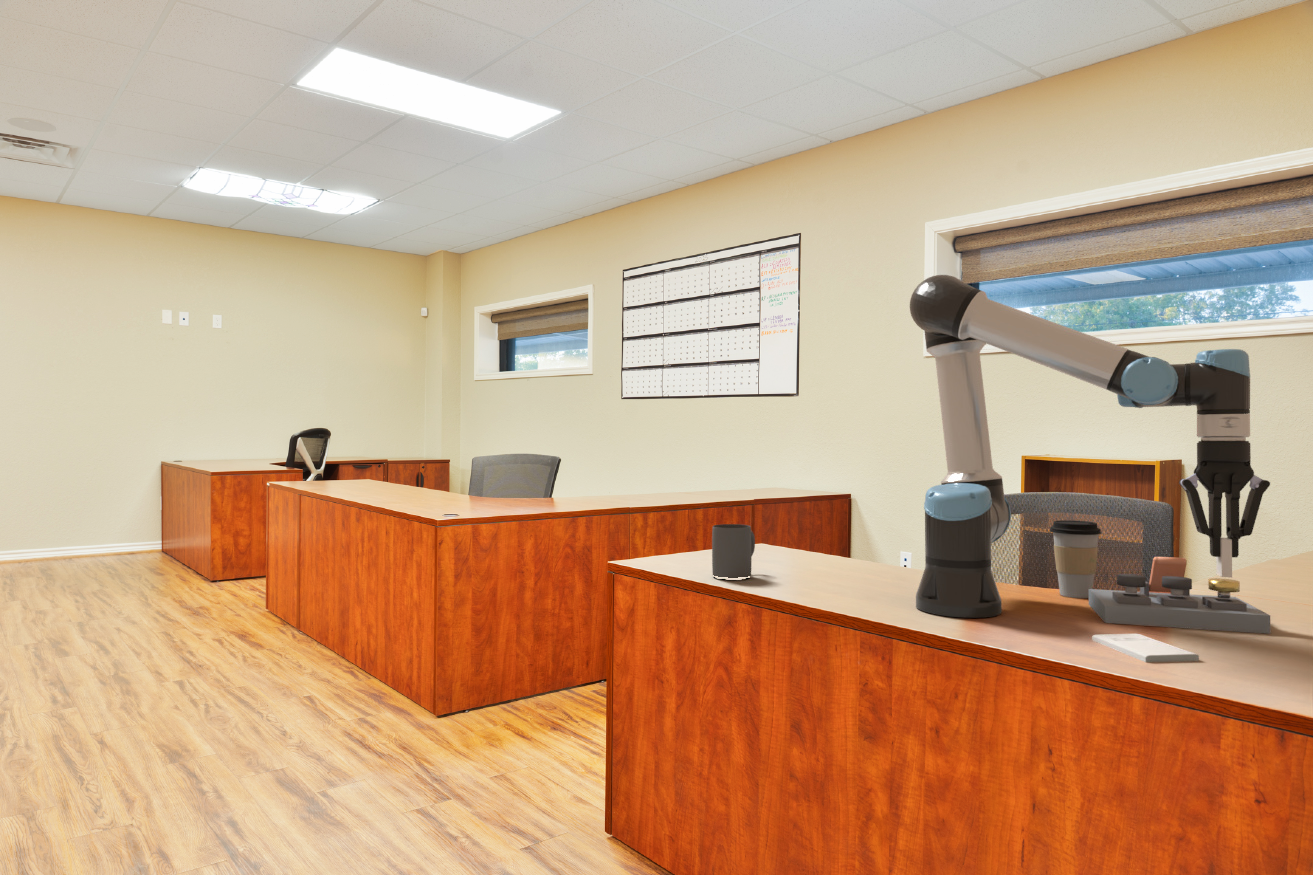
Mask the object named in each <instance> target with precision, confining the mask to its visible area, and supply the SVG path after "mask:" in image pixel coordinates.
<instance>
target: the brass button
mask: <svg viewBox="0 0 1313 875" xmlns="http://www.w3.org/2000/svg"><path fill="white" fill-rule="evenodd" d="M1207 582H1208V584H1207V586H1208V590H1210V591H1215V592H1217V596H1218V597H1219V598H1230V597H1231V593H1239V592H1240V591H1241V587H1240V581H1239V580H1236V579H1230V578H1221V577H1220V578H1217V577H1216V578H1214V577H1213V578H1208V580H1207Z"/></svg>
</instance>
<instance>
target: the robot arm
mask: <svg viewBox="0 0 1313 875" xmlns="http://www.w3.org/2000/svg"><path fill="white" fill-rule="evenodd" d="M909 312H910V316H911V318H912V319H913V322H914V323H915V325H916V326H918V328H920V329H921V330H923V331H924V332H923V333H924V339H925V340H924V341H925V348H926V352H927V353H928V354H930V355H931V356H932V357H933V358H934V360H935V366H936V375H937V376H936V378H937V384H938V387H937V388H938V394H939V396H938V397H939V402H940V412H941V420H942V430H943V440H944V448H945V451H944V452H945V457H946V468H947V473H946V475H945V476H944V477H943V479H942V480H941V481H940V484H937V485H933V486H931V487H930V488H929V489H927V490H926V492H925V499H924V500H925V501H924V503H923V506H924V507H923V509H924V534H925V535H924V538H925V539H924V541H925V542H924V543H925V544H924V547H925V548H924V551H925V555H924V556H925V557H924V559H925V560H924V561H925V566H924V571H923V573H922V576H921V579H920V583H919V585H918V587H917V591H916V595H915V608H916V609H917V610H920V611H921V612H925V613H928V614H933V615H938V616H943V617H944V616H945V617H952V618H972V619H974V618H978V619H979V618H990V617H996V616H998V615H1001V614H1002V611H1003V609H1002V604H1003V603H1002V602H1003V601H1002V598H1001V596H1000V592H999V590H998V587H997V584H996V580H995V577H994V574H993V573H992V543H995V542H997V541H998V540H999V539H1000V538H1001V537H1002V536H1003V535H1004V534H1005V533H1006V532H1007V530H1008V528H1009V526H1010V524H1011V518H1012V512H1011V506H1010V503H1009V502H1008V499H1007V498H1006V496H1005V491H1004V483H1003V476H1002V475H1000V474H999V472H996V470H995V469H994V468H993V458H992V451H991V441H990V432H989V424H988V415H987V406H986V396H985V387H984V380H983V372H982V370H983V369H982V362H981V354H980V353H981V350H982V349H983V348H984V347H985V345H987V344H988V345H989V346H992V347H994V348H998V349H1000V350H1002V351H1006V352H1008V353H1010V354H1012V355H1016V356H1018V357H1021V358H1023V359H1026V360H1028V361H1031V362H1034V363H1036V364H1040V365H1041V366H1044V367H1047V368H1050V369H1052V370H1055V371H1057V372H1059V373H1062V374H1065V375H1068V376H1071V377H1073V378H1076V379H1078V380H1081V381H1083V382H1086V383H1089V384H1092V385H1093V386H1097V387H1099V388H1102V389H1104V390H1106V391H1109V392H1111V393H1113V394H1116V396H1117V402H1118V404H1119V406H1121V407H1122V408H1138V409H1142V408H1151V407H1152V408H1156V407H1157V408H1159V407H1163V408H1164V407H1176V406H1177V407H1184V406H1185V407H1190V406H1196V437H1197V438H1200V440H1199V441H1197V443H1196V467H1195V468H1194V470H1193V474H1192V475H1189V476H1188V477H1186V478H1181V479H1179V482H1178V484H1179V485H1180V487H1181V488H1182V489H1183V490H1184V492H1185V493H1186V497H1187V500H1188V504H1189V507H1190V511H1191V514H1192V518H1193V520H1194V525H1195V529H1196V531H1197V532H1198V533H1200V534H1202V535H1205V536H1207V537H1209V554H1210V556H1212V557H1214V558H1215V557H1216V562H1215V563H1216V575H1217V576H1219V577H1220V578H1233V558H1238V557H1239V554H1240V553H1239V551H1240V550H1239V546H1240V545H1239V541H1240V539H1241V538H1242V537H1246V536H1251V535H1252V534H1253V530H1254V527H1255V523H1256V520H1257V516H1258V513H1259V509H1260V505H1261V502H1262V499H1263V495H1264V494H1265V492H1266V491H1267V490H1268V488H1269V487H1270V486H1271V482H1270V481H1269V480H1265V479H1262V478H1261V477H1259V476H1258V475H1256V474H1255V471H1254V469H1253V468H1252V465H1251V462H1252V461H1251V442H1250V441H1249V440H1246V438H1249V437H1251V410H1250V409H1251V370H1250V356H1249V353H1247V351H1245V350H1243V349H1239V348H1223V349H1220V348H1219V349H1212V350H1211V349H1210V350H1202V351H1199V352H1198V353H1197V354H1196V357H1195V360H1194V362H1190V363H1177V364H1176V363H1175V364H1174V363H1173V364H1171V363H1169V362H1168V361H1166V360H1164V359H1162V358H1158V357H1155V356H1148V355H1146V354H1144V353H1143V354H1142V353H1140V352H1138V351H1134V350H1130V349H1128V348H1127V347H1124V346H1120V345H1118V344H1116V343H1112V342H1109V341H1107V340H1104V339H1101V338H1099V337H1095V336H1092V335H1091V334H1087V333H1085V332H1082V331H1079V330H1077V329H1073V328H1070V327H1068V326H1065V325H1062V324H1059V323H1056V322H1053V321H1051V320H1048V319H1046V318H1045V319H1044V318H1042V317H1040V316H1036V315H1034V314H1031V313H1028V312H1025V311H1022V310H1020V309H1017V308H1014V307H1011V306H1009V305H1006V304H1003V303H1001V302H997V301H994V300H992V299H990V298H988V296H987V293H986V292H985V291H984V290H980V289H978V288H976V287H974V286H972V285H970V284H968V283H965V282H964V281H963V280H961V279H959V278H957V277H955V276H953V275H949V274H937V275H932V276H930V277H927V278H925V279H924V280H923V281H922V282H920V283H919V284H918V285H917V286H916V287H915V288H914V290H913V292H912V294H911V297H910V301H909ZM1198 482H1199V483H1200V484H1201V485H1202V487H1203V488H1204V490H1206V491H1207V498H1208V521H1207V519H1206V515H1205V511H1204V508H1203V505H1202V501H1201V498H1200V494H1199V491H1198V489H1197V488H1198V486H1199V483H1198ZM1248 483H1249V485H1248ZM1246 485H1248V486H1249V488H1250V490H1249V492H1248V496H1247V499H1246V502H1245V506H1244V509H1243V511H1242V512H1243V513H1242V517H1241V519H1240V499H1241V491H1242V490H1243V489H1244V488H1245V487H1246ZM1223 493H1224V497H1225V522H1226V523H1225V525H1226V526H1225V529H1226V530H1225V534H1226V537H1222V532H1223V531H1222V500H1223Z"/></svg>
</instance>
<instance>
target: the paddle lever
mask: <svg viewBox="0 0 1313 875" xmlns="http://www.w3.org/2000/svg"><path fill="white" fill-rule="evenodd" d="M1151 563H1152V565H1151V570H1150V576H1149V582H1148V583H1149V592H1154V593H1171V589H1169V588H1164V587H1162V577H1163V576H1177V577H1185V573H1186V568H1187V559H1186V558H1185V557H1172V556H1171V557H1170V556H1154V557H1153V559H1152V562H1151Z"/></svg>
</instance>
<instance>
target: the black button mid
mask: <svg viewBox="0 0 1313 875" xmlns="http://www.w3.org/2000/svg"><path fill="white" fill-rule="evenodd" d="M1162 587H1164V588H1169V589H1171V595H1175V596H1183V590H1192V589H1193V579H1192V578H1190V577H1185V576H1184V577H1177V576H1163V577H1162Z"/></svg>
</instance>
